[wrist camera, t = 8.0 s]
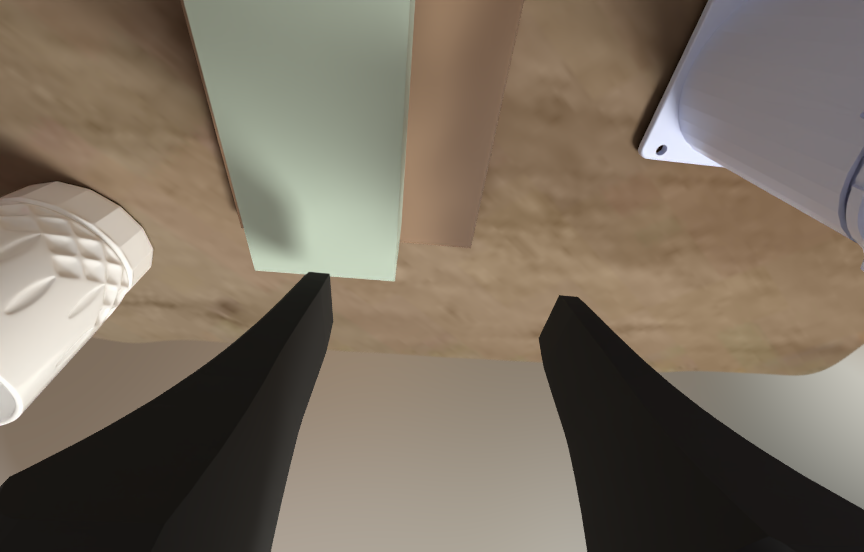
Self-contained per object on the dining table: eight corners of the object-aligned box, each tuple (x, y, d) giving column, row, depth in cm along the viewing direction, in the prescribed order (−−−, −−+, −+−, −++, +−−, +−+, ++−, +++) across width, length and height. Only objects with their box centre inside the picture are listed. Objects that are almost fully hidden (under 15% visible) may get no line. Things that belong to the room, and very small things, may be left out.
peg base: (608, -432, 9) (709, -675, 6) (469, 238, 21) (476, 280, 18) (51, -568, 8) (-202, -950, 5) (248, 219, 20) (215, 259, 17)
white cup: (-27, 163, 18) (-375, 289, 10) (131, 176, 19) (-85, 305, 11) (60, 280, 23) (-130, 425, 15) (184, 287, 23) (62, 432, 16)
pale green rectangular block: (401, 225, 16) (394, 281, 13) (289, 215, 16) (255, 270, 12) (437, -355, 7) (443, -625, 4) (186, -410, 7) (-16, -750, 4)
